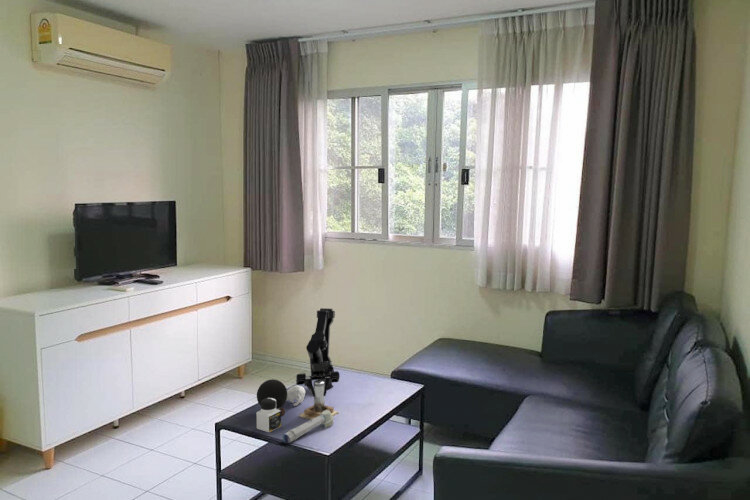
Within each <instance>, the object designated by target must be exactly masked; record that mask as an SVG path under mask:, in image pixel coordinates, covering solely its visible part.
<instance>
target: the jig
mask: <svg viewBox="0 0 750 500" xmlns="http://www.w3.org/2000/svg"><path fill="white" fill-rule="evenodd" d="M325 410H329V411H330V412H331V415H332V416H333V417H335V416H337V415H339V411H337V410H334V407H332V406H329V405H325V404H324V411H325ZM303 411H304V412H302V413H300V414H299V417H300V418H303V419H306V420H308V421H310V420H312V419H314V418H316V417H318V416H320V415H321V414H322V412H323V411H322V412H316V411H314V404H313V405H311V406H310V407H307V408H305V409H304V410H303Z"/></svg>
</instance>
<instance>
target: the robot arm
mask: <svg viewBox="0 0 750 500" xmlns="http://www.w3.org/2000/svg"><path fill="white" fill-rule="evenodd" d="M335 317H336V311H335V310H333V308H326V307H325V308H322V307H321V308H320V309H318V310H316V318H317V322H316V325H315V330H314V331H315V332H314V333H312V334H311V337H310V340H308V343H307V345H306V351H307V354H308V357H309V366H310V375H307V374H306V373H305V372H304V373H297V374H296V376H295V377H296V378H295V384H296V385H299V386H302V385H304V386H305V387H307V389H308V390H309V392H310V394H311V395H312V397H313V398H314V384H313V381H316V380H323V381H324V397H326V395H327V391H328V390H329V389H332V388H334V385H333V383H338V382H339V381H340V377H341V376H340V375H341V374H340V372H339V371H338V370H337V371H335V368H334V366H333V363H332V360H331V357H330V355H329V354H330V336H331V335H330V331H331V326H332V325H333V323H334V318H335ZM296 385H295V386H296ZM304 386H303V387H304Z"/></svg>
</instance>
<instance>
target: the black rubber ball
mask: <svg viewBox="0 0 750 500" xmlns="http://www.w3.org/2000/svg"><path fill="white" fill-rule="evenodd" d="M287 391H288V390H287V387H286V385H285V384H284V383H283V382H282V381H280V380H278V379H268V380H265V381H263V382H262V383H260V386H259V387H258V389H257V391H256V400H257V403H258V404H259V406H260V407H261V401H262V400H263V399H265V398H273V399H275V400H276V409H278V410H281V418H282V417H283V416H285V415H286V409H285V408H284V407H283V406H284V405H285V403H286V402H287V401H286V399H287Z"/></svg>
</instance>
